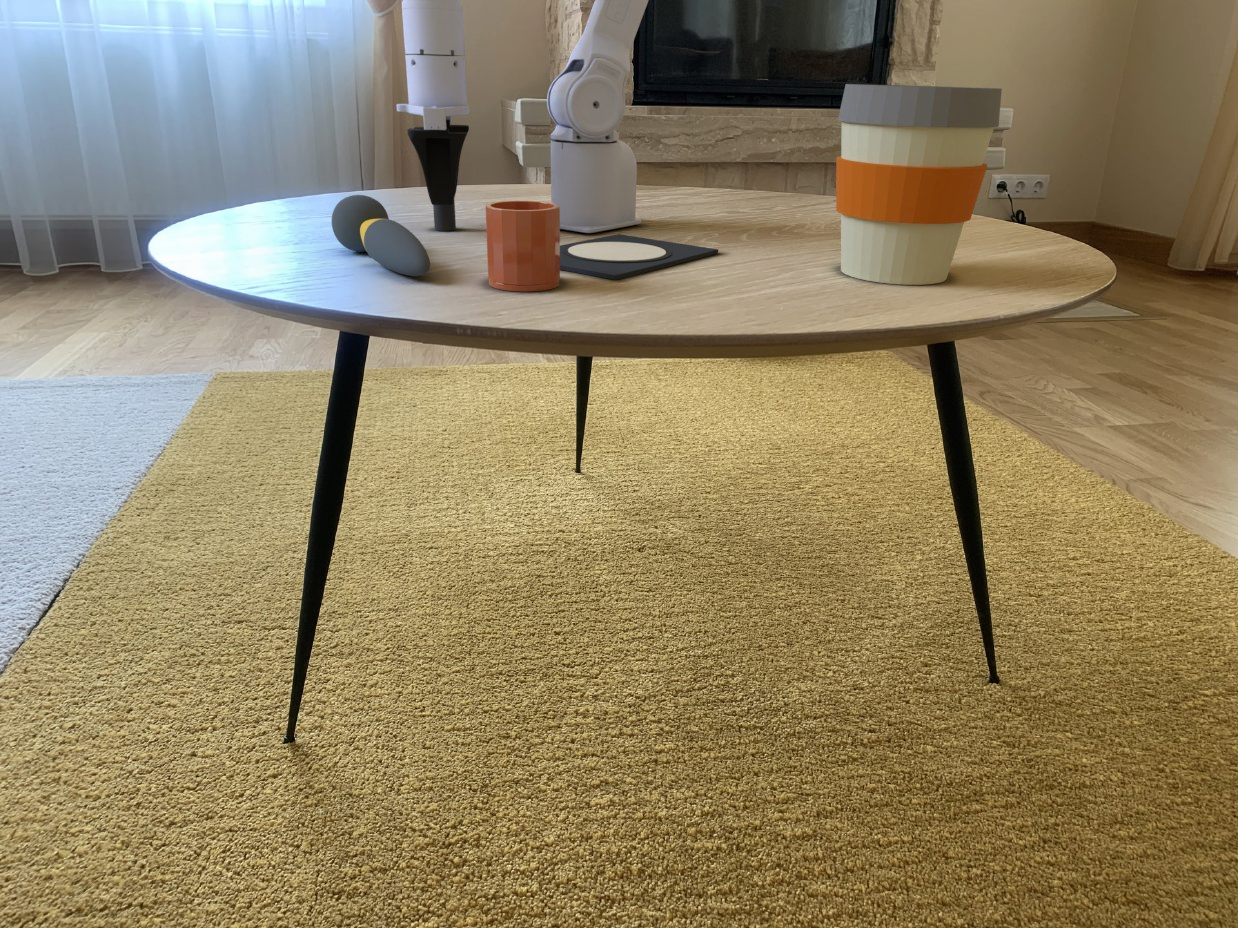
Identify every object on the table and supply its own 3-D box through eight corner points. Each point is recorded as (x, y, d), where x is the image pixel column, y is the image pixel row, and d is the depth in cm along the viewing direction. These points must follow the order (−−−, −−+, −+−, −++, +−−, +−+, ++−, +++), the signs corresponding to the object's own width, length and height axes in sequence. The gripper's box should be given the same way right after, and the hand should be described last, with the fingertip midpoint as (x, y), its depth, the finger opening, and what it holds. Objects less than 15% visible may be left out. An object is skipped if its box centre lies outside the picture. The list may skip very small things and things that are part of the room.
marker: (446, 227, 93) (441, 137, 89) (461, 229, 91) (456, 138, 88) (429, 229, 91) (423, 138, 87) (444, 232, 90) (439, 139, 86)
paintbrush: (468, 279, 70) (465, 215, 68) (411, 286, 67) (406, 219, 65) (368, 241, 84) (363, 187, 82) (317, 246, 81) (311, 191, 79)
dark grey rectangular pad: (618, 238, 89) (618, 232, 89) (718, 253, 82) (718, 247, 82) (508, 260, 77) (508, 253, 77) (615, 280, 71) (615, 273, 70)
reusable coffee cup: (994, 290, 70) (1035, 90, 64) (842, 288, 70) (869, 85, 64) (935, 260, 82) (965, 87, 76) (804, 258, 81) (824, 83, 75)
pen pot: (522, 273, 72) (521, 198, 70) (574, 283, 69) (574, 205, 67) (473, 284, 68) (470, 205, 66) (525, 295, 65) (524, 213, 63)
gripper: (400, 56, 90) (410, 191, 96) (384, 53, 77) (397, 210, 83) (469, 58, 91) (474, 192, 97) (465, 56, 78) (471, 211, 84)
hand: (443, 201), depth 90 cm, fingers open, 5 cm apart
